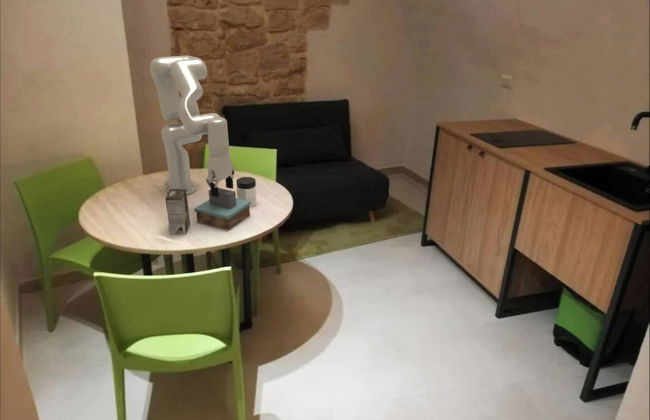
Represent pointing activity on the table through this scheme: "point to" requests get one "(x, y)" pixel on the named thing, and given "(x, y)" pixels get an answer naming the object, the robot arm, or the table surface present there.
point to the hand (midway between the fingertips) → (222, 192)
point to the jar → (247, 189)
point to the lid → (223, 204)
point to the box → (223, 219)
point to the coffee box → (177, 211)
